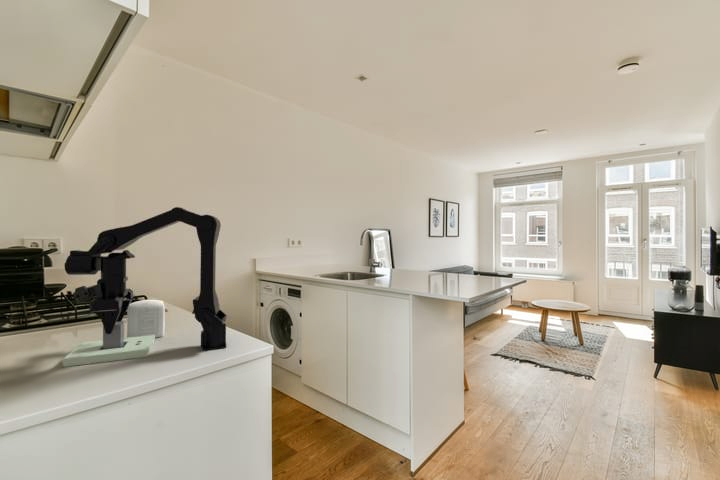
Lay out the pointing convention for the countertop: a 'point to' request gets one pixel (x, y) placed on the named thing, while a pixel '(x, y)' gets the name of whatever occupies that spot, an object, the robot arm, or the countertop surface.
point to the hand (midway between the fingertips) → (113, 329)
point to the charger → (114, 337)
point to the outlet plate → (109, 351)
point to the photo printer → (146, 318)
